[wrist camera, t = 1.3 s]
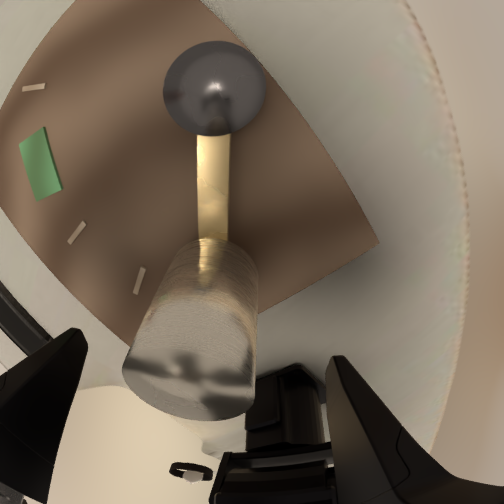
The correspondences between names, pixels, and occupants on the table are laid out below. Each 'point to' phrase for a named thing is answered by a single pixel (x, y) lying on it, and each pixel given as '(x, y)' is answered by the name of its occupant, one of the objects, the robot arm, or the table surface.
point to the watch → (191, 472)
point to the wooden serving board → (157, 166)
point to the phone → (20, 324)
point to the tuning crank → (205, 255)
